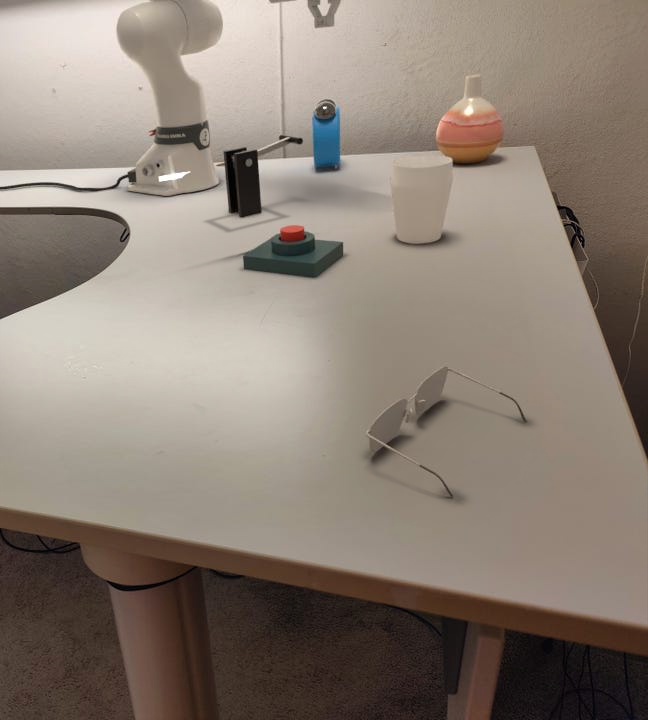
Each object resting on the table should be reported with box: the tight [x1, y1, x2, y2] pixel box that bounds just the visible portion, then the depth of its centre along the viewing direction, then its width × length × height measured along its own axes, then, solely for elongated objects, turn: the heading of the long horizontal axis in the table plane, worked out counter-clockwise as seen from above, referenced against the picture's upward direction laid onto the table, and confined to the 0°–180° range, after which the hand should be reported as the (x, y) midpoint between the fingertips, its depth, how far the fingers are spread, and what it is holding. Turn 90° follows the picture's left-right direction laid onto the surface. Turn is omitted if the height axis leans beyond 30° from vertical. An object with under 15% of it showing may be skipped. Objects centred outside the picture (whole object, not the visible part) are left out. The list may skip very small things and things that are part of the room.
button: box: [279, 224, 305, 242], centre depth 101 cm, size 4×4×2 cm
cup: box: [390, 154, 454, 245], centre depth 103 cm, size 9×9×12 cm
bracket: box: [223, 146, 262, 219], centre depth 124 cm, size 12×9×13 cm
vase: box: [435, 74, 505, 165], centre depth 144 cm, size 14×14×18 cm
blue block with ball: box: [311, 97, 341, 170], centre depth 155 cm, size 13×6×15 cm, turn 168°
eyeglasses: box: [365, 365, 528, 498], centre depth 57 cm, size 14×8×4 cm, turn 133°
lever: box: [230, 134, 304, 169], centre depth 123 cm, size 13×6×2 cm, turn 115°
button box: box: [242, 230, 344, 278], centre depth 102 cm, size 12×10×4 cm
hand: (324, 27), depth 114 cm, fingers closed
